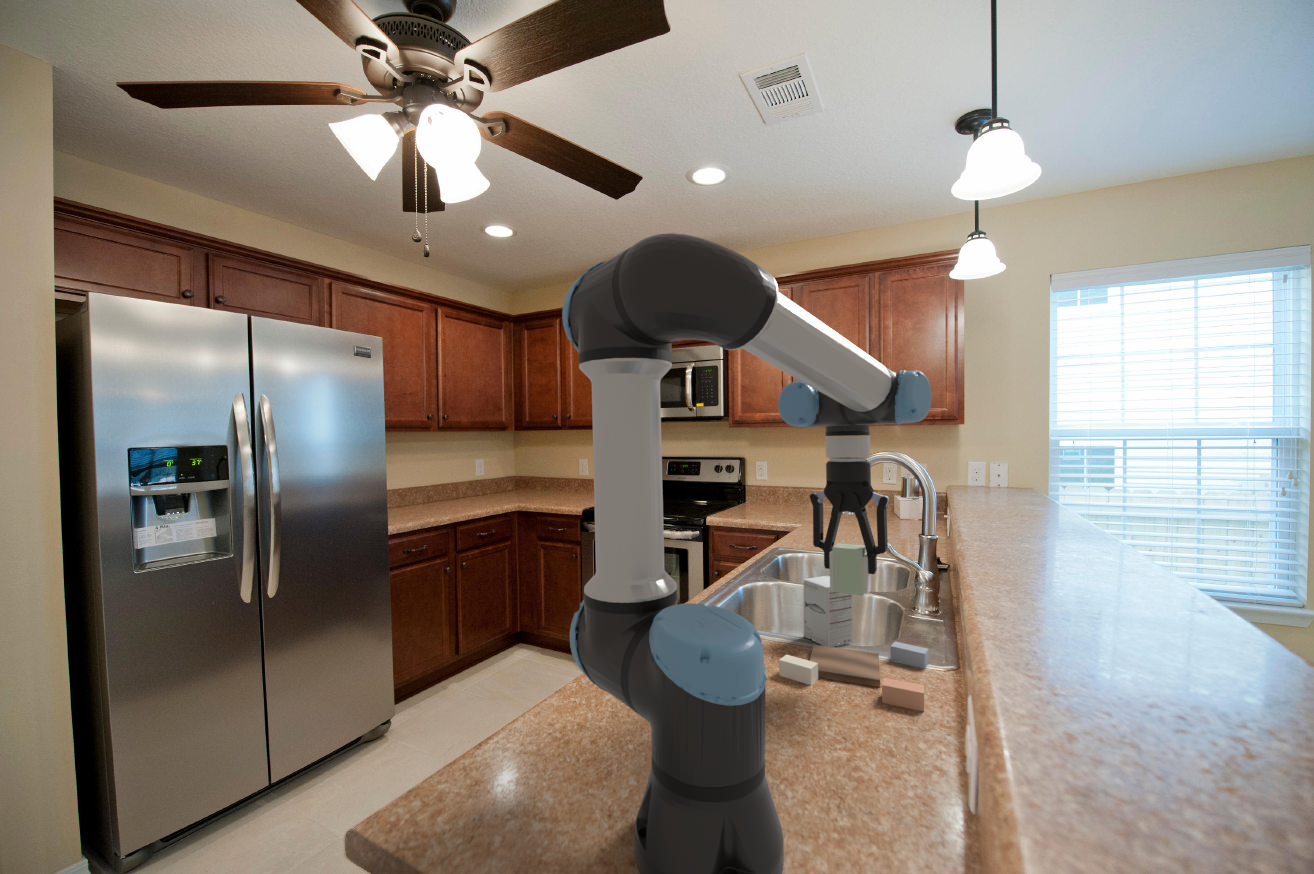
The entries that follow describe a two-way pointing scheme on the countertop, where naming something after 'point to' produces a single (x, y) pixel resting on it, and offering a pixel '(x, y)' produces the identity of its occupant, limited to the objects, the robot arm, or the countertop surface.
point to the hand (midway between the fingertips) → (850, 588)
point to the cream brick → (798, 669)
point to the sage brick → (848, 568)
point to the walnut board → (847, 665)
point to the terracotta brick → (903, 694)
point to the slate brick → (910, 655)
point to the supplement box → (827, 613)
